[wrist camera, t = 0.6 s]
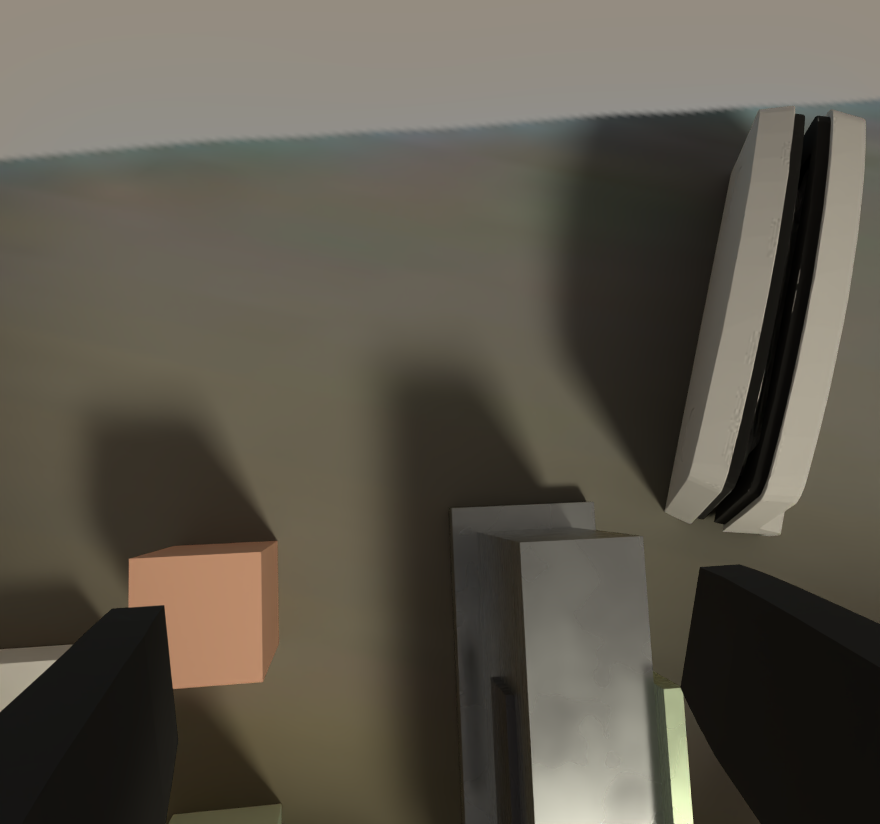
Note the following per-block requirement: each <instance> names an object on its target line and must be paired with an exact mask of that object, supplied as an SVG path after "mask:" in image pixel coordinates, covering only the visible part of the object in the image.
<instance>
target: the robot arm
mask: <svg viewBox="0 0 880 824" xmlns="http://www.w3.org/2000/svg"><path fill="white" fill-rule="evenodd" d="M681 690H682V692H683V694H684V696H685V698H686V701H687V703H688V705H689V707H690V709H691V711H692V713H693V715H694V717H695V719H696V721H697V723H698V725H699V727H700V729H701V731H702V732H703V734H704V736H705V738H706V740H707V742H708V744H709V745H710V747H711V749H712V751H713V753H714V755H715V756H716V758H717V759H718V761H719V762H720V764H721V765H722V767H723V769H724V770H725V772H726V773H727V775H728V776H729V777H730V779H731V780H732V782H733V783H734V785H735V786H736V788H737V789H738V791H739V792H740V794H741V795H742V797H743V798H744V800H745V801H746V803H747V804H748V805H749V807H750V808H751V810H752V811H753V813H754V814H755V816H756V817H757V819H758V820H759V821H760V823H761V824H880V624H878V623H876V622H874V621H872V620H869V619H867V618H865V617H863V616H861V615H858V614H856V613H854V612H852V611H850V610H847V609H845V608H843V607H841V606H839V605H836V604H834V603H832V602H830V601H828V600H825V599H823V598H821V597H819V596H817V595H814V594H812V593H810V592H808V591H805V590H803V589H801V588H799V587H796V586H794V585H792V584H789V583H787V582H785V581H782V580H780V579H778V578H775V577H773V576H770V575H768V574H765V573H763V572H760V571H757V570H755V569H752V568H749V567H746V566H743V565H739V564H738V565H724V566H710V567H700V570H699V576H698V582H697V588H696V595H695V601H694V607H693V613H692V620H691V626H690V632H689V638H688V645H687V651H686V657H685V663H684V670H683V676H682V682H681ZM177 744H178V734H177V725H176V715H175V705H174V695H173V685H172V676H171V666H170V656H169V646H168V636H167V627H166V617H165V607H164V605H158V606H144V607H130V608H116V609H111V610H110V611H109V612H108V613H107V614H106V615H104V616H103V617H102V618H101V619H100V620H99V621H98V622H97V623H96V624H95V625H93V626H92V627H91V628H90V629H89V630H88V631H87V632H86V633H85V634H84V635H83V636H82V637H81V638H80V639H79V640H78V641H76V642H75V643H74V644H73V645H72V646H71V647H70V648H69V649H68V650H67V651H66V652H65V653H64V654H63V655H62V656H61V657H60V658H58V659H57V660H56V661H55V662H54V663H53V664H52V665H51V666H50V667H49V668H48V669H47V670H46V671H45V672H43V673H42V674H41V675H40V676H39V677H38V678H37V679H36V680H35V681H34V682H32V683H31V684H30V685H29V686H28V687H27V688H26V689H25V690H24V691H23V692H22V693H20V694H19V695H18V696H17V697H16V698H15V699H14V700H13V701H12V702H11V703H9V704H8V705H7V706H6V707H5V708H4V709H3V710H2V711H1V712H0V824H165V823H166V817H167V810H168V804H169V798H170V792H171V786H172V779H173V772H174V765H175V758H176V751H177Z"/></svg>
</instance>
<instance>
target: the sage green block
mask: <svg viewBox="0 0 880 824" xmlns="http://www.w3.org/2000/svg"><path fill="white" fill-rule="evenodd" d="M169 824H282V808H281V804H273V805H263V806H253V807H243V808H233V809H223V810H214V811H204V812H194V813H184V814H174V815H173V816H172V818H171V820H170V822H169Z"/></svg>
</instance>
